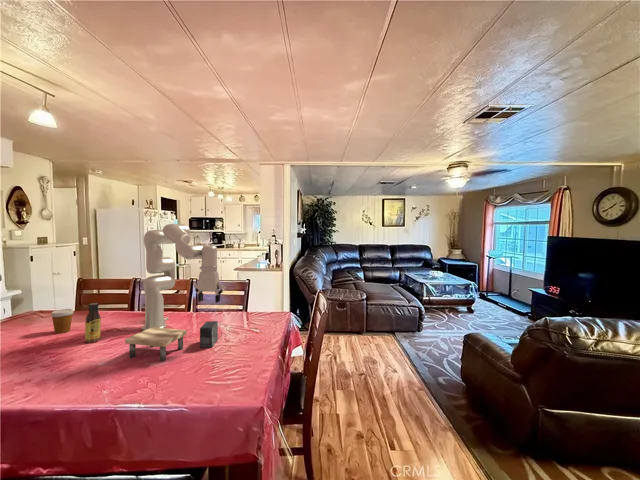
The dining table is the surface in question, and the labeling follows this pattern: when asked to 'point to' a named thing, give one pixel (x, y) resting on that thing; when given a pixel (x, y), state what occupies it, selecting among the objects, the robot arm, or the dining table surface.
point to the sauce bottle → (93, 324)
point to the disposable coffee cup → (62, 320)
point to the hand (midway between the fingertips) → (209, 301)
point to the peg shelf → (156, 340)
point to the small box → (208, 334)
